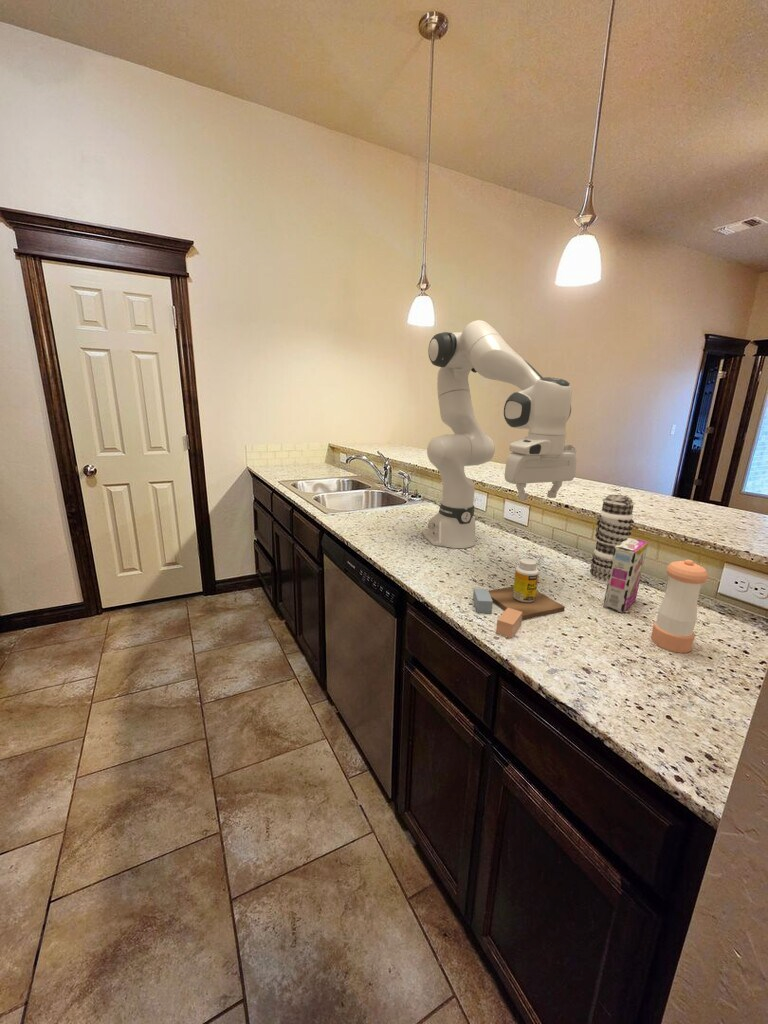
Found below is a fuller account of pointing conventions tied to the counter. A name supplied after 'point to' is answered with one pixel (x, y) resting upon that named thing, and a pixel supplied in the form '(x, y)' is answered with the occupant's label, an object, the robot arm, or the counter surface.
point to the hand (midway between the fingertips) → (537, 498)
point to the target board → (525, 603)
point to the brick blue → (482, 601)
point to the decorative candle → (610, 534)
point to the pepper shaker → (679, 607)
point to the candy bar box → (625, 574)
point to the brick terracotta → (509, 622)
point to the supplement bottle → (525, 580)
